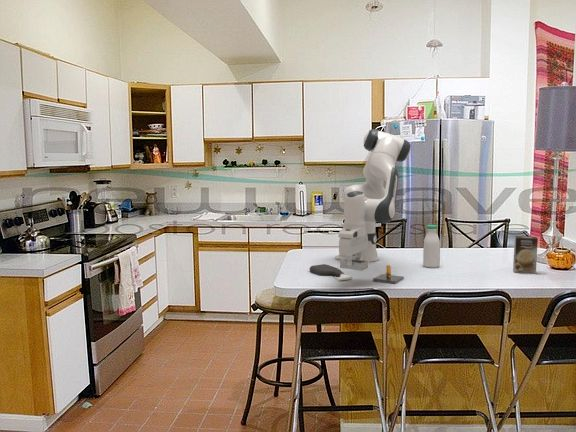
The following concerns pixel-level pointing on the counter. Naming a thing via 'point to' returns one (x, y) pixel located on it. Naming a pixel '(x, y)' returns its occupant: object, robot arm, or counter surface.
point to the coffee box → (525, 254)
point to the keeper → (388, 277)
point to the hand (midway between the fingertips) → (354, 263)
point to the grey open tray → (354, 264)
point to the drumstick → (329, 272)
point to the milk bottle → (431, 248)
